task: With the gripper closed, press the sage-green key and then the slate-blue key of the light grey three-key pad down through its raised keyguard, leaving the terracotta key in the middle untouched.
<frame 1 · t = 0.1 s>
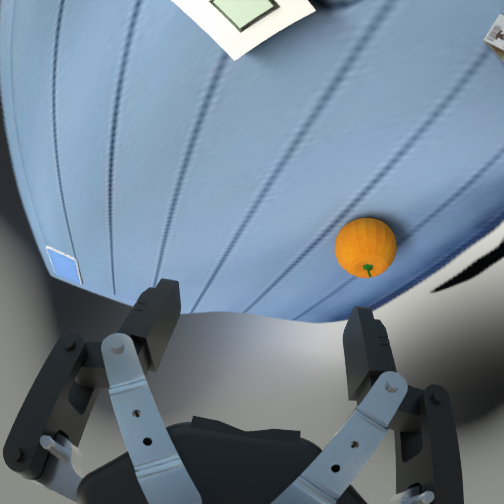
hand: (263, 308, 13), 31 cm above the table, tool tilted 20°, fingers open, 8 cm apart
key sage: (244, 2, 21), point 4 cm above the table, slide at 0.0 cm
tablet computer: (66, 264, 84), on the table
fruit: (363, 230, 52), on the table
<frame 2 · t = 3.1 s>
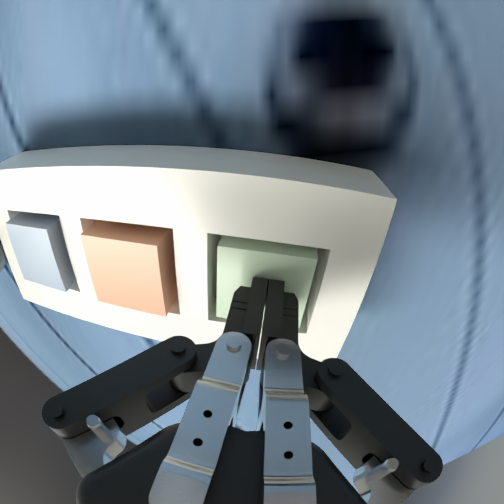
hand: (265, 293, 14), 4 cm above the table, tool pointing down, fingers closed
key sage: (264, 276, 15), point 3 cm above the table, slide at 0.7 cm, touching gripper
key terracotta: (132, 264, 15), point 4 cm above the table, slide at 0.0 cm
key slate: (44, 247, 15), point 4 cm above the table, slide at 0.0 cm
keypad frame: (158, 230, 18), on the table
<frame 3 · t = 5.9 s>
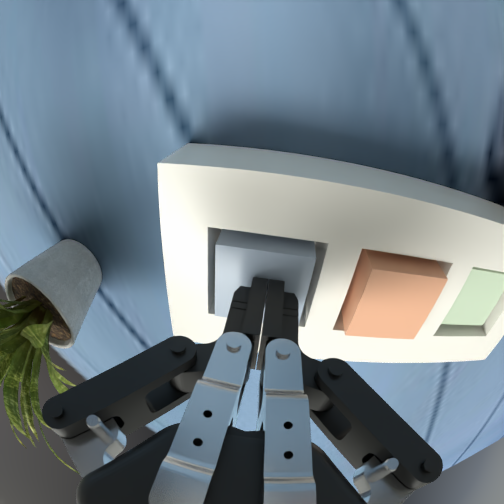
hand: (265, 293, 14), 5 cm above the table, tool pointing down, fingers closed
key sage: (470, 288, 15), point 2 cm above the table, slide at 1.4 cm
key terracotta: (391, 294, 14), point 4 cm above the table, slide at 0.0 cm
house plant: (91, 269, 21), on the table
key slate: (262, 275, 15), point 4 cm above the table, slide at 0.2 cm, touching gripper
keypad frame: (376, 255, 17), on the table
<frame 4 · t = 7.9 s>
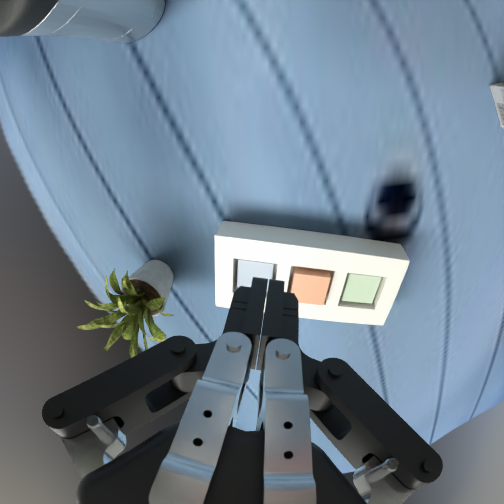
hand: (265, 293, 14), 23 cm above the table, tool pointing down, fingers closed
key sage: (360, 283, 37), point 2 cm above the table, slide at 1.4 cm
key terracotta: (309, 284, 36), point 4 cm above the table, slide at 0.0 cm
house plant: (167, 275, 44), on the table
key slate: (255, 270, 38), point 2 cm above the table, slide at 1.4 cm
keypad frame: (308, 267, 39), on the table
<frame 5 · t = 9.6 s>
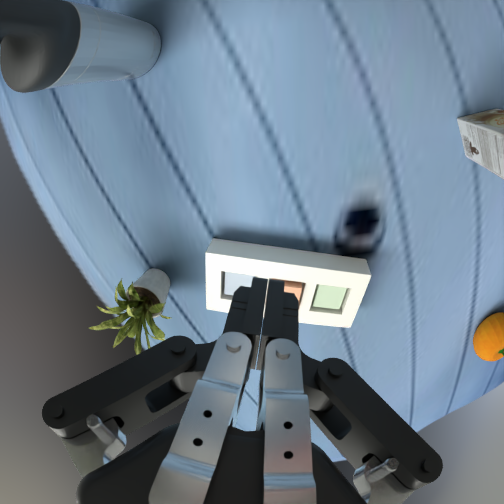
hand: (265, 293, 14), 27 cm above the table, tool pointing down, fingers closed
coffee box: (481, 131, 29), on the table
key sage: (329, 292, 44), point 2 cm above the table, slide at 1.4 cm
key terracotta: (284, 292, 43), point 4 cm above the table, slide at 0.0 cm
fruit: (488, 324, 47), on the table
house plant: (164, 281, 51), on the table
key slate: (240, 280, 45), point 2 cm above the table, slide at 1.4 cm
keypad frame: (285, 277, 46), on the table
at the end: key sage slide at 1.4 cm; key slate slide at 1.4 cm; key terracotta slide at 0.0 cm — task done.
